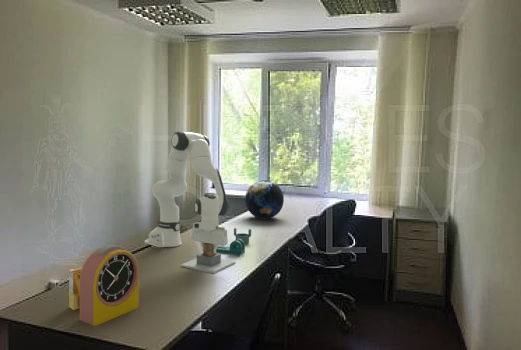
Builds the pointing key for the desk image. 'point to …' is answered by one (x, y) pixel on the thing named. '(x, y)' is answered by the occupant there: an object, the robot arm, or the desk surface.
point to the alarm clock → (108, 285)
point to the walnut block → (208, 249)
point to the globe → (264, 199)
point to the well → (208, 263)
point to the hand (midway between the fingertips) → (209, 251)
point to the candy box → (74, 288)
